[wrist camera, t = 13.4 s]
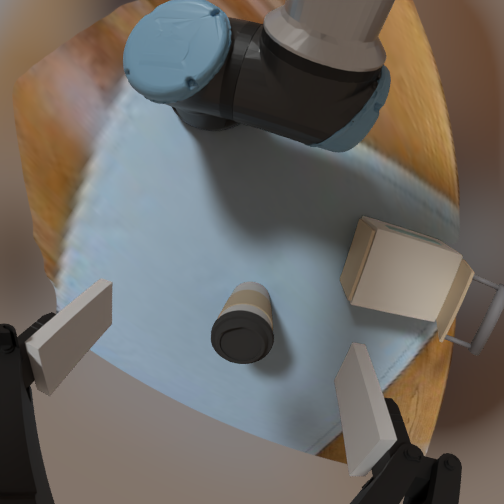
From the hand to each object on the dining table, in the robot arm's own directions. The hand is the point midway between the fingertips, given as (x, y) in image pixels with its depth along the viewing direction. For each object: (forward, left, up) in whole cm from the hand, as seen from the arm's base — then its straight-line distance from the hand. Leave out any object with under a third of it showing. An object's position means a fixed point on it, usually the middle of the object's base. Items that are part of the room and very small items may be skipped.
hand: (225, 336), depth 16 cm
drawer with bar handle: (+3, +30, -24) cm, 39 cm away
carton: (+3, +24, -37) cm, 44 cm away
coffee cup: (+16, +1, -37) cm, 40 cm away
